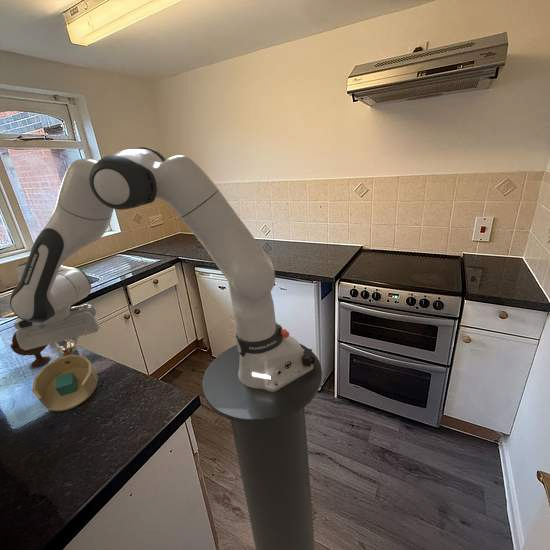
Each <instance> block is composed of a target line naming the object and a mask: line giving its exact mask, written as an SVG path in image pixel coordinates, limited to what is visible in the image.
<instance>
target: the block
mask: <svg viewBox="0 0 550 550" xmlns="http://www.w3.org/2000/svg"><path fill="white" fill-rule="evenodd" d="M77 384H78V379H77V378H76V376H75V375H74V373H73V372H71V373H68V374H64V375H61V376H58V377H56V387H55V389H56V390H57V392H58V393H59V394H60V395H61V396H63V395H66V394H70V393H73V392H76V391H77Z"/></svg>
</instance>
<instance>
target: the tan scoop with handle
mask: <svg viewBox="0 0 550 550" xmlns="http://www.w3.org/2000/svg"><path fill="white" fill-rule="evenodd" d="M71 344H73V343H72V342H71V341H67V342H66V343H65V344H64V347H65V348H64V349H65V351H64V353H63V356H60V357H58V358H56V359H54V360H52V361H51V362H48V363H47V364H45V366H43V367H42V368H41V369H40V371H39V372H38V373H37V375H36V376H35V377H34V379H33V381H32V388H31V392H32V393H33V394H34V396H35V397H36V398H37V399H38V400H39V402H40V403H41V404H42V405H43V406H44V407H45V408H46V409H48V410H50V411H54V412H64V411H68V410H71V409H74V408H77V406H79V405H81V404H83V403H84V402H85V401H87V400H88V399H89V398H90V397H91V396H92V394H93V393H94V392H95V391H96V388H97V386H98V382H99V376H98V372H97V370H96V367H95V366H94V365H93V363H92V361H91V360H89V359H88V357H86V356H85V355H83V354H82V355H81V354H74V353H73V351H72V350H71V348H70V346H71ZM71 372H73V373H74V375H75V376H76V378H77V379H78V384H77V391H76V392H73V393H70V394H66V395H63V396H61V395H60V394H59V393H58V392H57V390H56V389H55V387H56V377H58V376H61V375H64V374H68V373H71Z"/></svg>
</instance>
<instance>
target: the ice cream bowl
mask: <svg viewBox="0 0 550 550" xmlns="http://www.w3.org/2000/svg"><path fill="white" fill-rule="evenodd" d="M46 347H48V345H44V346H41V347H37V348H33V349H29V350H23V349H21V348H20V346H19V344H18V342H17V338H16V331H15V332H14V334H12V339H11V344H10V348H11V350H12V351H13V352H14V354H16V355H19V356H34V357H35V359H34V361H32V363H31V367H32V368H39V367H42V366H43V367H44V365H47V364H49V363H50V361H51V358H50V356H43V355H42V353H41V352H44V350H45V349H46Z"/></svg>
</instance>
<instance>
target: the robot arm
mask: <svg viewBox="0 0 550 550" xmlns="http://www.w3.org/2000/svg"><path fill="white" fill-rule="evenodd" d="M155 199H159V200H161V201H164V202H165V203H167V204H168V205H169V206H170V207H171V208H172V210H173V211H174V212H175V213H176V215H177V216H178V217H179V218H180V219H181V221H182V222H183V223H184V224H185V226H186V227H187V228H188V229H189V231H191V233H192V234H193V235H194V237H195V238H196V239H197V240H198V242H200V244H201V245H202V246H203V248H204V249H205V251H206V253H207V254H208V255H209V256H210V259H212V261H213V262H214V264H215V265H216V266H217V268H218V269H219V271H220V272H221V273H222V276H224V277H225V279H226V280H227V282H228V289H229V294H230V300H231V305H232V311H233V315H234V317H233V318H234V323H235V330H236V331H235V342H236V345H237V348H238V352H239V354H240V363H239V371H238V377H239V380H240V381H241V382H242V383H243V384H244V385H246V386H248V387H251V388H258V389H265V390H267V391H270V392H275V391H277V390H279V389H280V388H282V387H284V386H285V385H287V384H289V383H290V382H292V381H294V380H295V379H297V378H299V377H301V376H302V375H304V374H306V373H307V372H309V371H311V370H312V369H313V363H315V358H314V357H313V356H312V352H313V349H312V348H308V349H303V348H302V347H301V345H300V344H301V343H300V344H299V342H298V340H297V339H296V338H294V337H293V336H292V335H290V332H289V331H288V330H287V329H285V328H283V327H282V325H281V324H278V322H276V313H275V303H274V299H273V295H272V291H273V288H274V286H275V282H276V272H275V271H276V270H275V267H274V264H273V262H272V261H271V259H270V257H269V256H268V255H267V253H266V252H265V251H264V249H263V248H262V246H261V245H260V244H259V243H258V240H256V238H255V237H254V235H253V234H252V233H251V232H250V230H249V229H248V228H247V226H246V225H245V222H243V221H242V218H240V217H239V215H238V213H237V212H236V211H235V209H234V208H233V207H232V205H231V204H230V203H229V201H228V200H227V199H226V197H225V195H224V194H223V193H222V192H221V190H220V189H219V187H218V186H217V185H216V184H215V182H214V181H213V180H212V179H211V177H210V176H209V175H208V174H207V173H206V172H205V170H204V169H202V167H201V166H199V164H197V163H196V162H195V161H194V160H193V159H192V158H191V157H189V156H187V155H185V154H177V155H173V156H170V157H168V158H167V159H166V157H165V156H164V155H163V154H162V153H161V152H159V151H158V150H156V149H153V148H152V147H151V148H150V147H144V146H141V147H135V148H131V149H129V148H128V149H122V150H119V151H116V152H114V153H112V154H110V155H109V154H108V155H106V156H103V157H102V158H100V159H99V160H96V159H92V158H78V159H76V160H74V161H72V162H71V163H70V164H69V166H68V168H67V170H66V172H65V174H64V177H63V179H62V182H61V185H60V188H59V191H58V195H57V200H56V203H55V207H54V210H53V212H52V214H51V217H50V218H49V220H48V221H47V224H46V225H45V226H44V228H43V229H42V230H41V231H40V232H39V235H37V237H36V238H35V240H34V243H33V245H32V248H31V250H30V253H29V256H28V258H27V261H23V262H22V263H21V262H20V263H19V264H18V265H17V266H16V277H17V280H18V284H17V285H16V286H15V287H14V288H13V290H12V292H11V294H10V298H9V299H10V300H9V305H10V309H11V311H12V312H13V314H14V315H15V317H16V320H15V321H14V323H13V327H14V328H15V329H16V331H15V332H16V338H17V342H18V344H19V346H20V348H21V349H23V350H29V349H33V348H37V347H41V346H44V345H47V346H49V347H50V348H52V349H53V350H55V351H57V354H58V355H64V351H65V345H62V346H61V345H60V344H58V343H60V342H63V341H68V340H71V341H72V342H73V343H72V344H71V346H70V348H71V350H72V352H75V351H77V350H78V349H79V345H78V340H79V337H83V336H87V335H91V334H94V333H97V332H99V330H100V328H101V323H100V320H99V318H98V316H97V311H96V308H95V306H93V305H92V304H88V303H86V304H82V305H77V306H73V305H75V304H76V303H78V302H80V301H82V300H83V299H85V298H87V297H88V296H90V293H91V291H92V282H91V281H90V278H89V276H88V275H87V273H86V272H84V270H82V269H80V268H77V267H68V266H64V263H65V262H66V261H67V260H68V259H69V258H70V257H72V256H73V255H74V254H76V253H78V252H79V251H81V250H82V249H84V248H86V247H89V245H92V244H93V243H95V242H98V240H100V239H101V238H102V237H103V236H104V234H105V233H106V231H107V230H108V228H109V226H110V223H111V220H112V217H113V213H114V210H117V211H118V210H120V211H121V210H122V211H123V210H131V209H136V208H139V207H141V206H145V205H147V204H149V205H150V204H152V203H153V202H155ZM71 306H72V307H71ZM276 385H277V386H276Z"/></svg>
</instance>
